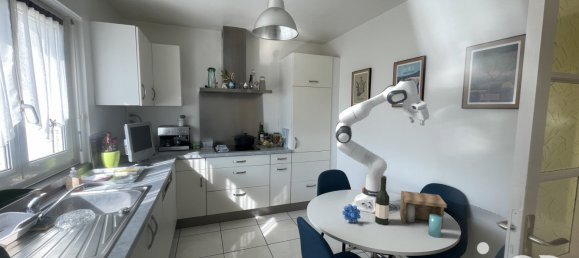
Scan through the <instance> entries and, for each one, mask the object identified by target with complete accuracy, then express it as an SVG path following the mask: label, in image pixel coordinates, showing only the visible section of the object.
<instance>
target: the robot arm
mask: <svg viewBox="0 0 579 258" xmlns="http://www.w3.org/2000/svg"><path fill="white" fill-rule="evenodd" d="M418 90H419V89H418V87H417V83H416V81H415V80H414V79H413V78H403V79H401V80H400V81H399V82H397V84H395V85H394V84H391V85H388V86H386V87H385V88H384V89H383V91H381V92H380V93H378V94H376V95H374V96H372V97H370V98H368V99H366V100H364V101H362V102H358V103H356V104H354V105H351V106H350V107H348V108H346V109H345V110H343V111H342V112H340V114H339V115H338V120H339V121H338V122H337V123H336V126H335V139H336V140H337V142H336V147H337V149H338V150H339V151H340V152H342V153H343V154H345V156H348V157H349V158H351V159H353V160H355V161H356V162H358V163H359V164H362V165H363V166H365V167H367V168H368V169H367V170H368V171H367V175H366V177H365V184H364V185H365V186H362V187H361V191H362V192H360V193H358V194H357V195H355V197H354V199H353V200H352V201H351V203H350V204H351V205H352V207H353V206H354V205H355V206H357V209H359V210H360V212H361V211H362V212H365V213H371V214H375V211H376V195H377V194H378V192H379V191H380V188H381V177H382V176H384V174H385V172H386V170H387V169H388V164H387V161H386V160H385V159H384V158H383V157H381V156H380V155H378V154H376V153H374V152H373V151H372V150H369V149H367V148H366V147H365V146H362V145H361V144H359V143H357V142H356V141H354V140H353V139H352V137H353V134H352V133H353V130H352V126H353V125H354V124H356V123H358V122H361V121H362V120H364V119H366V118H367V117H368V116H369V115H370V113H371V112H372V110H373V109H374V108H375V107H377V106H378V105H381V104H383V103H384V102H388V103H389V104H390V105H393V106H394V105H398V104H400V103H401V104H402V108H401V109H402V113H403V116H404V117H407V118H408V120H409V122H410V124H414V123H415V119H416V120H420V123H419V125H420V126H421V127H424V126H425V122H426V121H427V120H429V118H430V114H429V113H430V112H429V110H428V108H427V106H428V104H427V102H426V101H423V100H422V99H421V98H420V96H419V93H418Z"/></svg>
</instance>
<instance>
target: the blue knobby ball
mask: <svg viewBox="0 0 579 258" xmlns="http://www.w3.org/2000/svg"><path fill="white" fill-rule="evenodd" d="M360 214H361V210H359V209H357V206H355V205H354V206H353V207H352V205H351V203H349V204H348V205H347V206H346V205H345V206H344V207H343V211H342V215H343V216H344V217H343V218H344V219H345V221H348V222H349V223H351V224H353V222H354V223H358V221H359V220H360V219H361V215H360Z"/></svg>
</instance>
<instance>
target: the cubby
mask: <svg viewBox="0 0 579 258" xmlns="http://www.w3.org/2000/svg"><path fill="white" fill-rule="evenodd" d="M406 203H412V204H415V219H419V220H425V221H429V216H430V214H436V215H439V216H441V217H442V223H441V230H443V228H444V215H445V214H444V213H445V209H447V205H448V204H447V203H446V202H445V200H443V198H442V197H441V196H440V195H439V194H434V193H425V192H415V191H405V190H401V191H400V207H399V208H400V209H399V217H400V220H401V222H402V223H401V224H404V225H405V224H406V220H405V217H406Z"/></svg>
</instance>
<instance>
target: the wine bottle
mask: <svg viewBox="0 0 579 258" xmlns="http://www.w3.org/2000/svg"><path fill="white" fill-rule="evenodd" d="M389 213H390V195H389V192H387V176H386V175H383V176H382V177H381V188H380V191H379V192H378V194H377V195H376V211H375V213H374V215H375V216H374V223H376V224H377V225H381V226H388V225H389V218H390V217H389Z"/></svg>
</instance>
